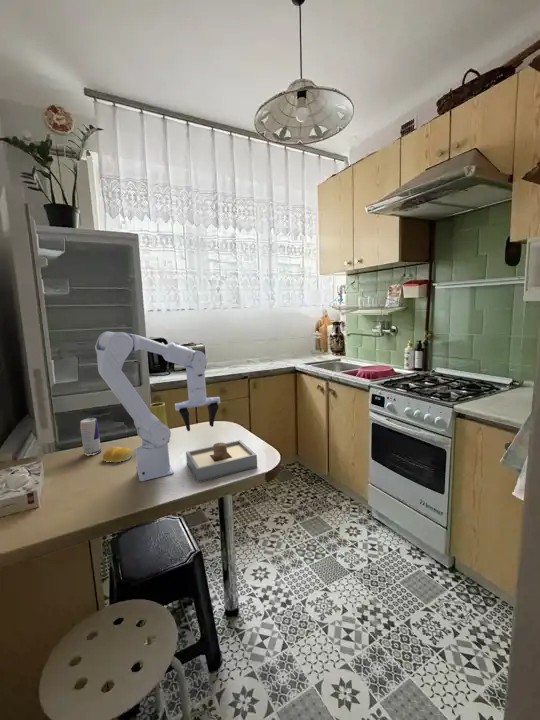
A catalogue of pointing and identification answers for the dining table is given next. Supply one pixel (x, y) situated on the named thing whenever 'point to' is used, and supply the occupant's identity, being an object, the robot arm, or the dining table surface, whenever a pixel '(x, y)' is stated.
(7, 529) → the dining table surface
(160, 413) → the vase
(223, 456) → the walnut peg
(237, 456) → the socket box
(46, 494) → the dining table surface
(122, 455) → the bread roll
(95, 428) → the energy drink
